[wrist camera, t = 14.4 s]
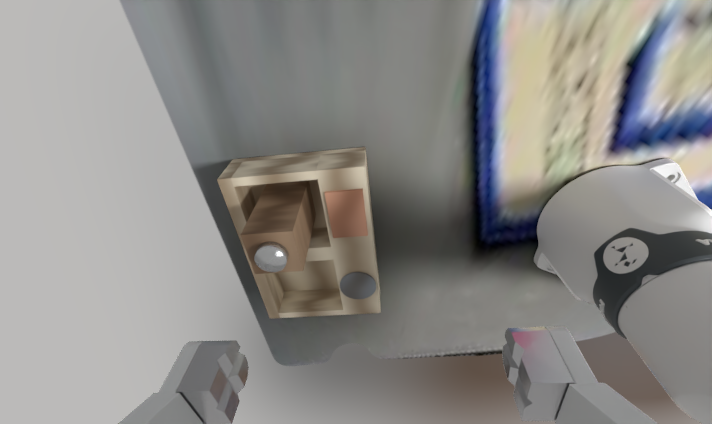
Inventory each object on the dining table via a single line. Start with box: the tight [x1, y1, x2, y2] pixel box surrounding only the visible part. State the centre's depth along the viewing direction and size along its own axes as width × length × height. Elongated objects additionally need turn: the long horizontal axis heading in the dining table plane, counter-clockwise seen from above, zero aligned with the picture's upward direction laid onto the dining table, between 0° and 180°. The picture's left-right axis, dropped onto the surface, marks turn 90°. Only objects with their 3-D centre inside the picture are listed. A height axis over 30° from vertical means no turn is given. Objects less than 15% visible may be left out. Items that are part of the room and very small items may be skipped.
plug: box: [240, 180, 316, 274], centre depth 36 cm, size 5×5×11 cm
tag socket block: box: [217, 147, 381, 319], centre depth 43 cm, size 16×22×5 cm
